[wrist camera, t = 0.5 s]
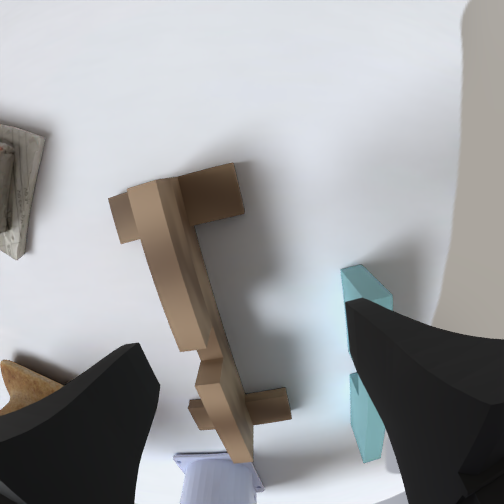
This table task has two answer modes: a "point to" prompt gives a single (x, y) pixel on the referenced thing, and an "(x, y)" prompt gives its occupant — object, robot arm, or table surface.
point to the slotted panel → (362, 408)
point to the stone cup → (24, 386)
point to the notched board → (197, 295)
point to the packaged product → (17, 185)
